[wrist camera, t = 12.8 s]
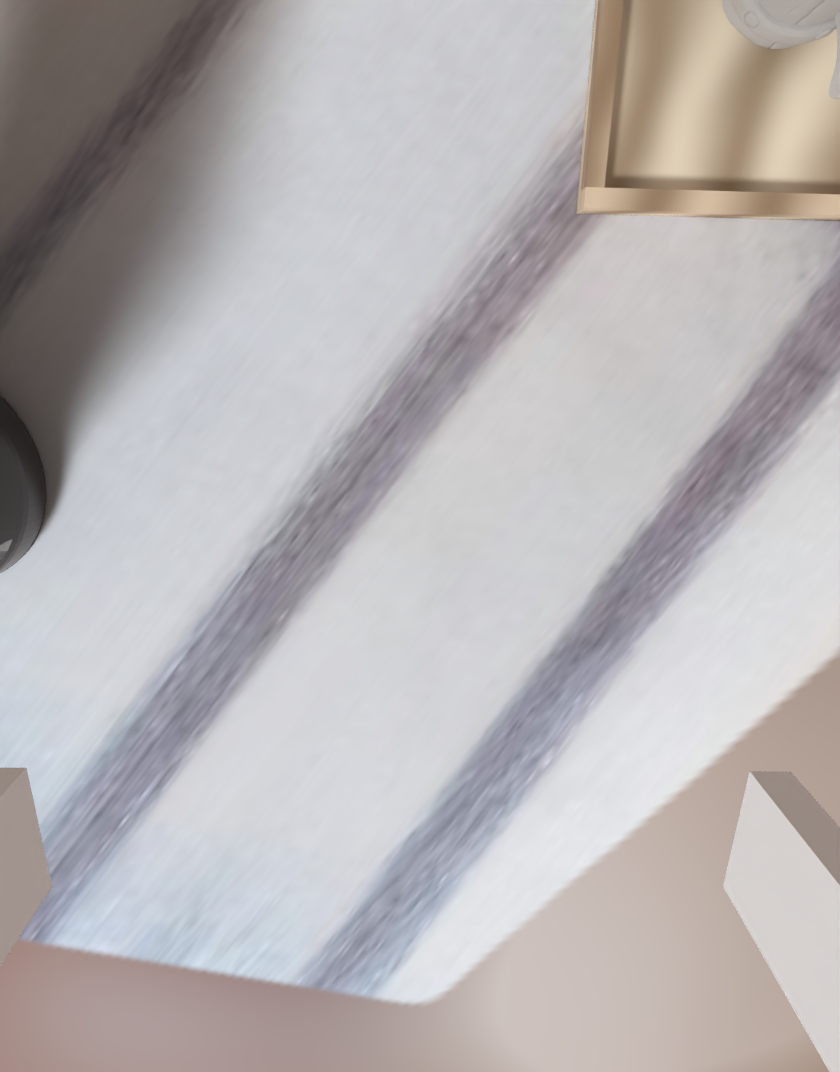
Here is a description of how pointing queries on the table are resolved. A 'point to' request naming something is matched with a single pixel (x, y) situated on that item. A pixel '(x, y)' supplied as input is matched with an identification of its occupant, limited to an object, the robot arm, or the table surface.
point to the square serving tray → (706, 118)
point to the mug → (787, 24)
